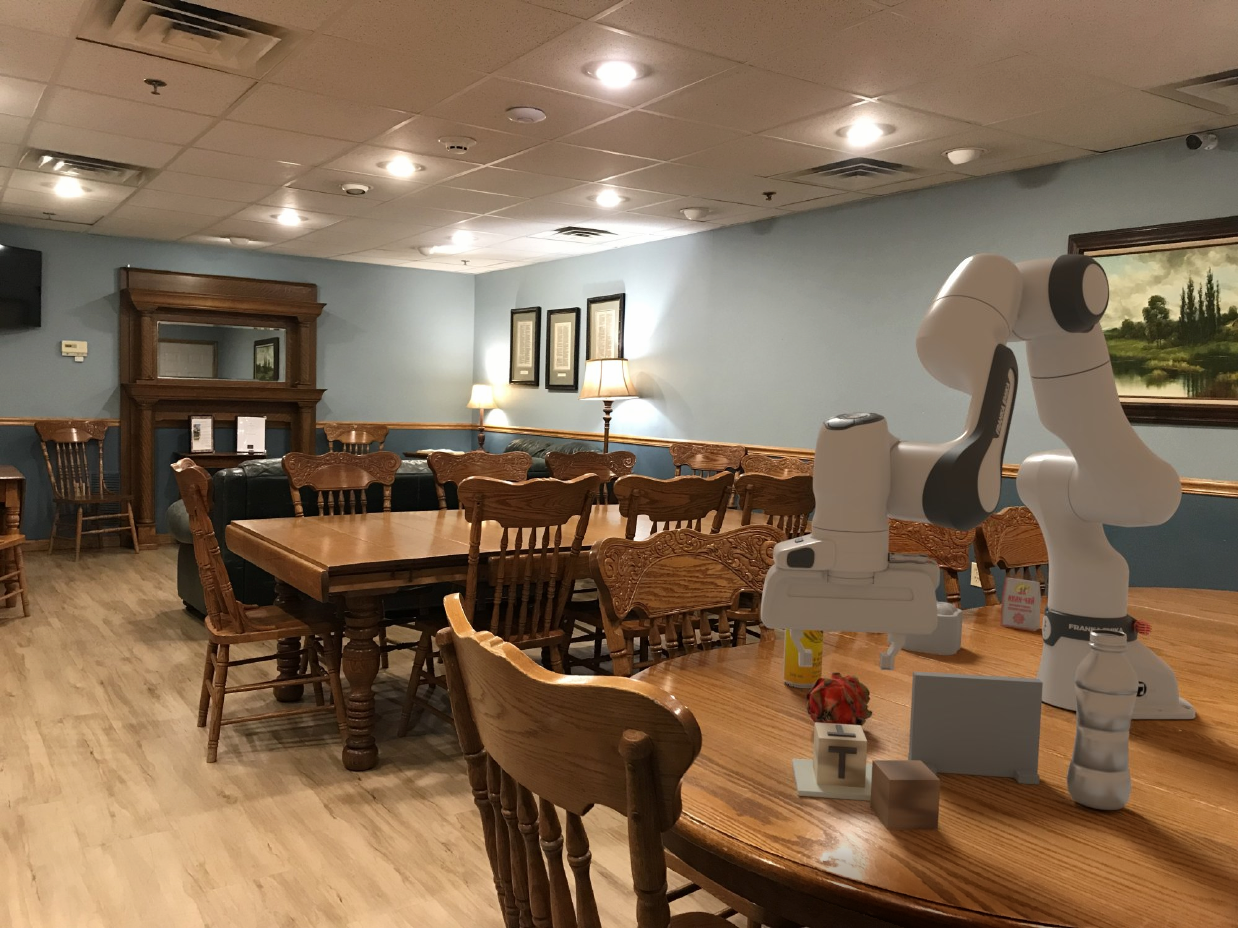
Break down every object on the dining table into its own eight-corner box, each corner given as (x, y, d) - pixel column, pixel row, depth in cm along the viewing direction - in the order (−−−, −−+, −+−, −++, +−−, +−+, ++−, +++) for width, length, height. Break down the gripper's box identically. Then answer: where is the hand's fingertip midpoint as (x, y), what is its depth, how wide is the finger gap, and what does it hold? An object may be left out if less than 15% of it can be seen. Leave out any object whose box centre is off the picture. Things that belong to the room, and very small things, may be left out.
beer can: (821, 690, 149) (825, 596, 148) (782, 687, 151) (785, 593, 150) (820, 679, 155) (824, 589, 154) (783, 676, 156) (786, 586, 155)
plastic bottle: (1053, 793, 111) (1063, 625, 110) (1108, 793, 112) (1119, 626, 111) (1085, 817, 105) (1096, 639, 104) (1143, 817, 106) (1155, 640, 104)
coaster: (873, 768, 118) (874, 763, 117) (887, 801, 108) (887, 796, 108) (792, 762, 119) (792, 758, 119) (798, 795, 109) (798, 790, 109)
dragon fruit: (856, 729, 136) (827, 767, 126) (810, 688, 139) (779, 721, 129) (891, 691, 132) (865, 727, 122) (843, 649, 135) (813, 681, 125)
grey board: (1028, 768, 119) (1033, 674, 118) (1041, 784, 114) (1047, 686, 113) (905, 760, 121) (910, 667, 120) (913, 775, 116) (918, 678, 115)
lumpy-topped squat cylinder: (953, 657, 172) (955, 610, 172) (881, 646, 179) (883, 601, 178) (963, 645, 181) (965, 600, 181) (894, 635, 188) (896, 592, 187)
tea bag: (1005, 622, 202) (1008, 576, 201) (1039, 628, 198) (1042, 580, 197) (1000, 625, 199) (1003, 578, 198) (1034, 631, 195) (1037, 583, 194)
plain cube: (918, 808, 106) (920, 760, 106) (937, 830, 101) (940, 779, 101) (870, 808, 106) (872, 760, 106) (887, 830, 101) (889, 779, 100)
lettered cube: (858, 769, 115) (860, 723, 115) (865, 788, 110) (867, 739, 109) (812, 766, 116) (814, 720, 116) (817, 784, 110) (819, 736, 110)
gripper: (934, 549, 113) (930, 663, 114) (761, 544, 115) (758, 656, 116) (947, 558, 107) (942, 679, 108) (763, 553, 109) (760, 671, 110)
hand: (845, 667), depth 112 cm, fingers open, 8 cm apart
